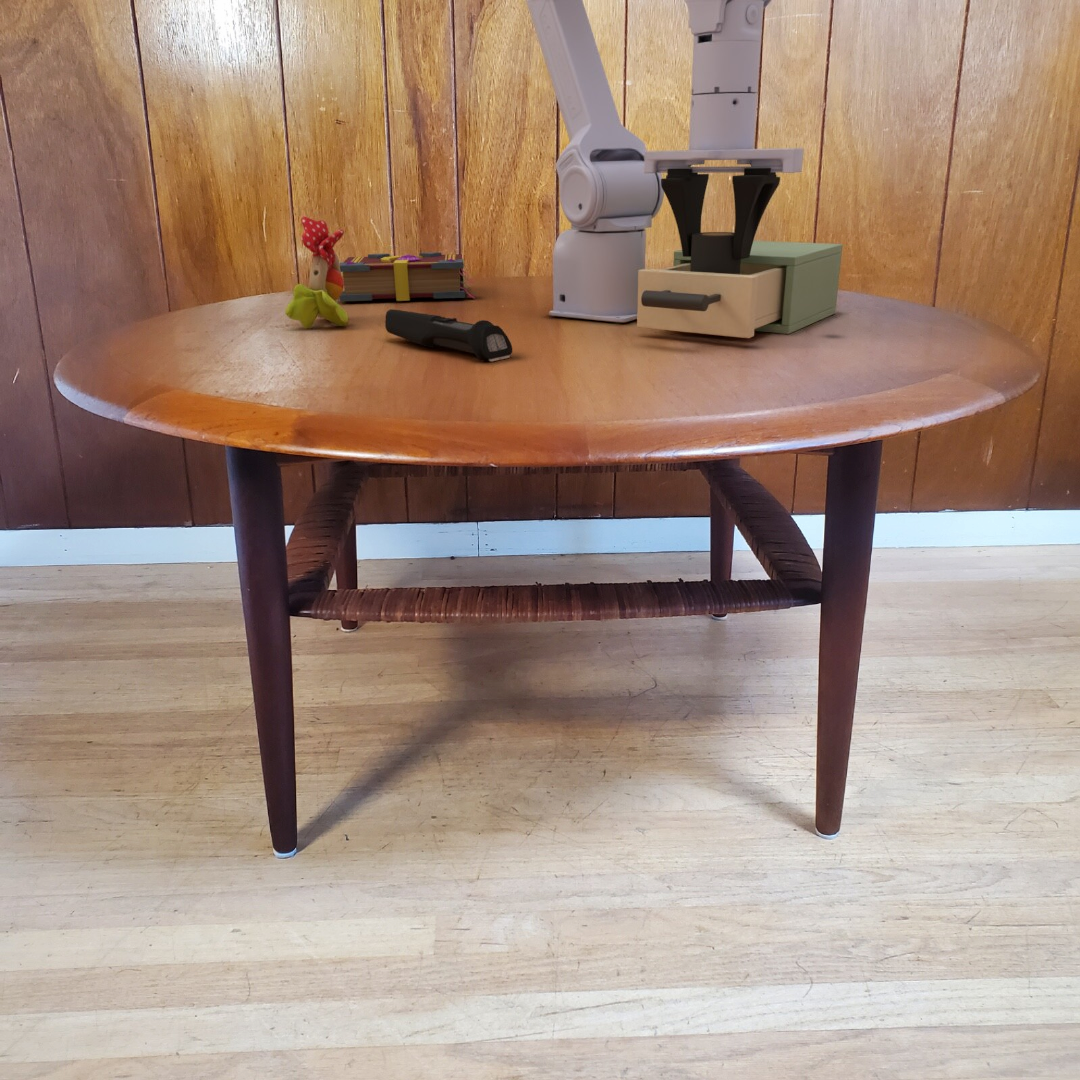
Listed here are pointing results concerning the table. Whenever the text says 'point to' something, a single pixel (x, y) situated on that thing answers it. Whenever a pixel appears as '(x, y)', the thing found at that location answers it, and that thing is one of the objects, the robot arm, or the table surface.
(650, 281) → the drawer
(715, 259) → the dark grey cylinder
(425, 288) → the decorative book
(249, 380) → the table surface
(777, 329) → the cabinet
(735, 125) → the robot arm
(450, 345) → the electric trimmer
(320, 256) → the bird rattle
